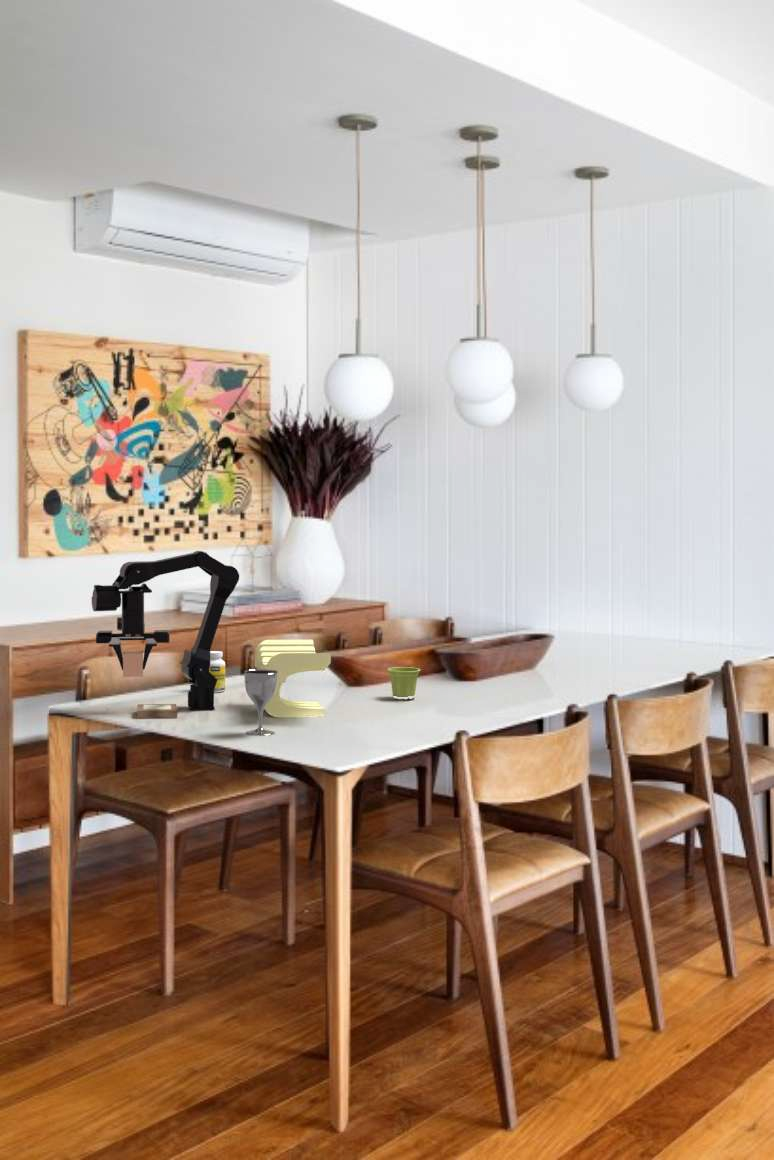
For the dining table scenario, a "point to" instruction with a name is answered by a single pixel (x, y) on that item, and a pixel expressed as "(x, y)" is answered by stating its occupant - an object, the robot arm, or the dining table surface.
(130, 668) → the terracotta block
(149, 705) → the walnut plinth
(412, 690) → the plant pot
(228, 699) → the dining table surface
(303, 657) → the slatted curved stool
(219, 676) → the pill bottle
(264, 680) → the wine glass
